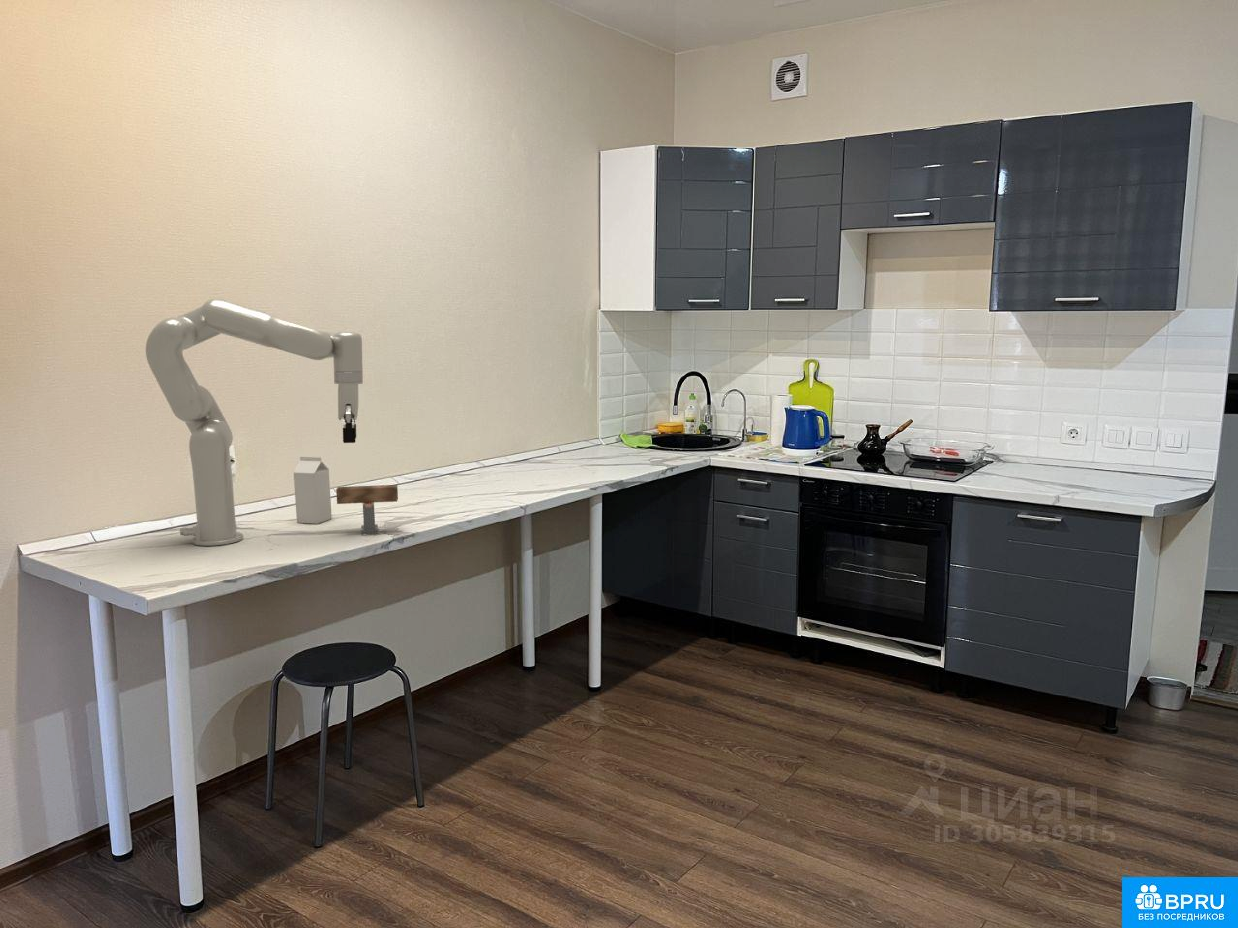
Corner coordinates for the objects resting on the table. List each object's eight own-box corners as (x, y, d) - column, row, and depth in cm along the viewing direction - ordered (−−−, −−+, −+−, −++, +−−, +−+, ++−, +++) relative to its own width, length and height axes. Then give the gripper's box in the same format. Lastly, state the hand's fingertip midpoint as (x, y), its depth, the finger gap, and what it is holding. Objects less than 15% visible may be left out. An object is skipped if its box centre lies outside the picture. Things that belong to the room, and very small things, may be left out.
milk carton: (317, 524, 273) (313, 459, 270) (296, 523, 275) (292, 458, 272) (332, 519, 280) (328, 455, 277) (311, 517, 282) (307, 455, 279)
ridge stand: (361, 534, 259) (359, 504, 258) (361, 529, 266) (359, 499, 265) (378, 533, 260) (376, 503, 259) (377, 528, 267) (376, 498, 266)
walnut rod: (337, 503, 259) (336, 489, 258) (339, 501, 262) (338, 487, 262) (396, 501, 261) (396, 487, 260) (398, 498, 265) (397, 484, 264)
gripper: (335, 376, 265) (336, 436, 268) (332, 380, 248) (334, 444, 251) (363, 376, 267) (364, 436, 269) (362, 380, 250) (363, 444, 253)
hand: (349, 440), depth 260 cm, fingers open, 9 cm apart
